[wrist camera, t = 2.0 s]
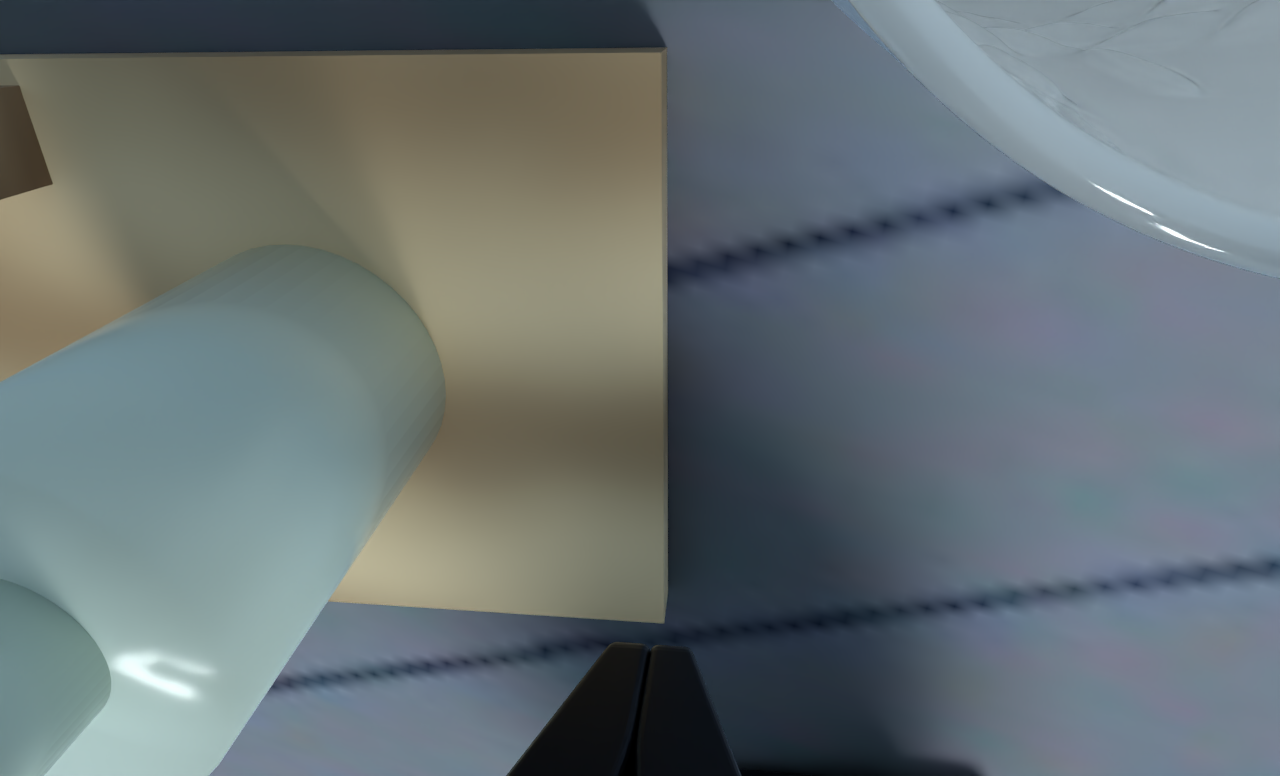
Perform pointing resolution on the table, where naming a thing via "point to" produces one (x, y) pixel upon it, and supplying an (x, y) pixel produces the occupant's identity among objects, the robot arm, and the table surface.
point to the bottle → (196, 504)
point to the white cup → (1116, 105)
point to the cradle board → (396, 273)
